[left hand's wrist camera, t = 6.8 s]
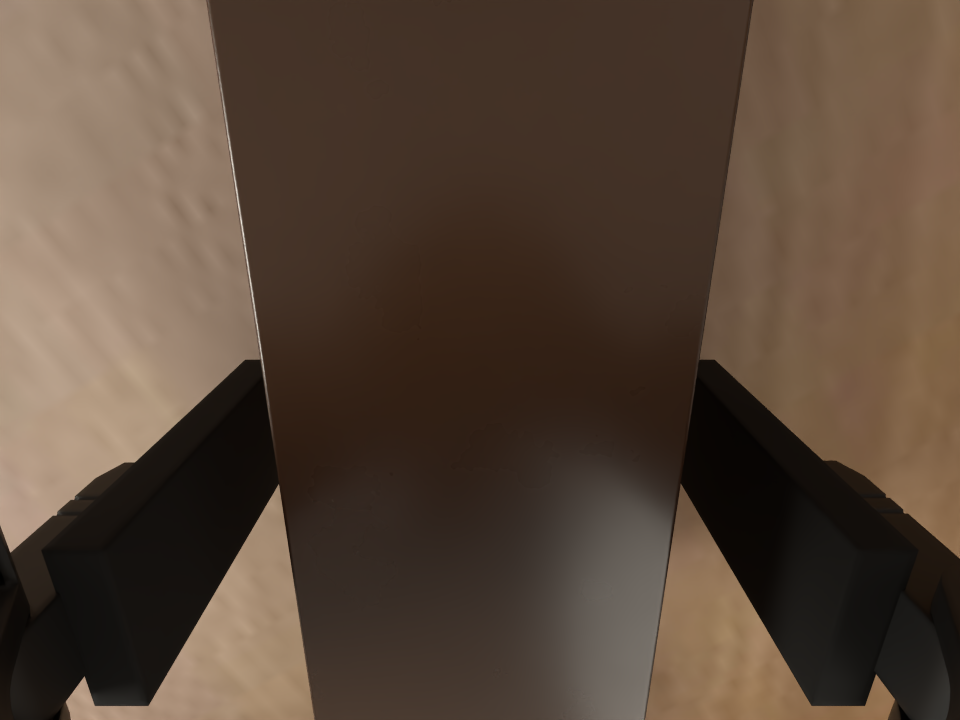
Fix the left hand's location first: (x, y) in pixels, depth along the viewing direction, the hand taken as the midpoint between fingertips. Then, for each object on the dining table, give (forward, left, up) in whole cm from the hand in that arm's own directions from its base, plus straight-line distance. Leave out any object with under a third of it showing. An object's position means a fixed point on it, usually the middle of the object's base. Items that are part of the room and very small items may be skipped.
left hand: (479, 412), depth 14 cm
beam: (+10, 0, -1) cm, 10 cm away
